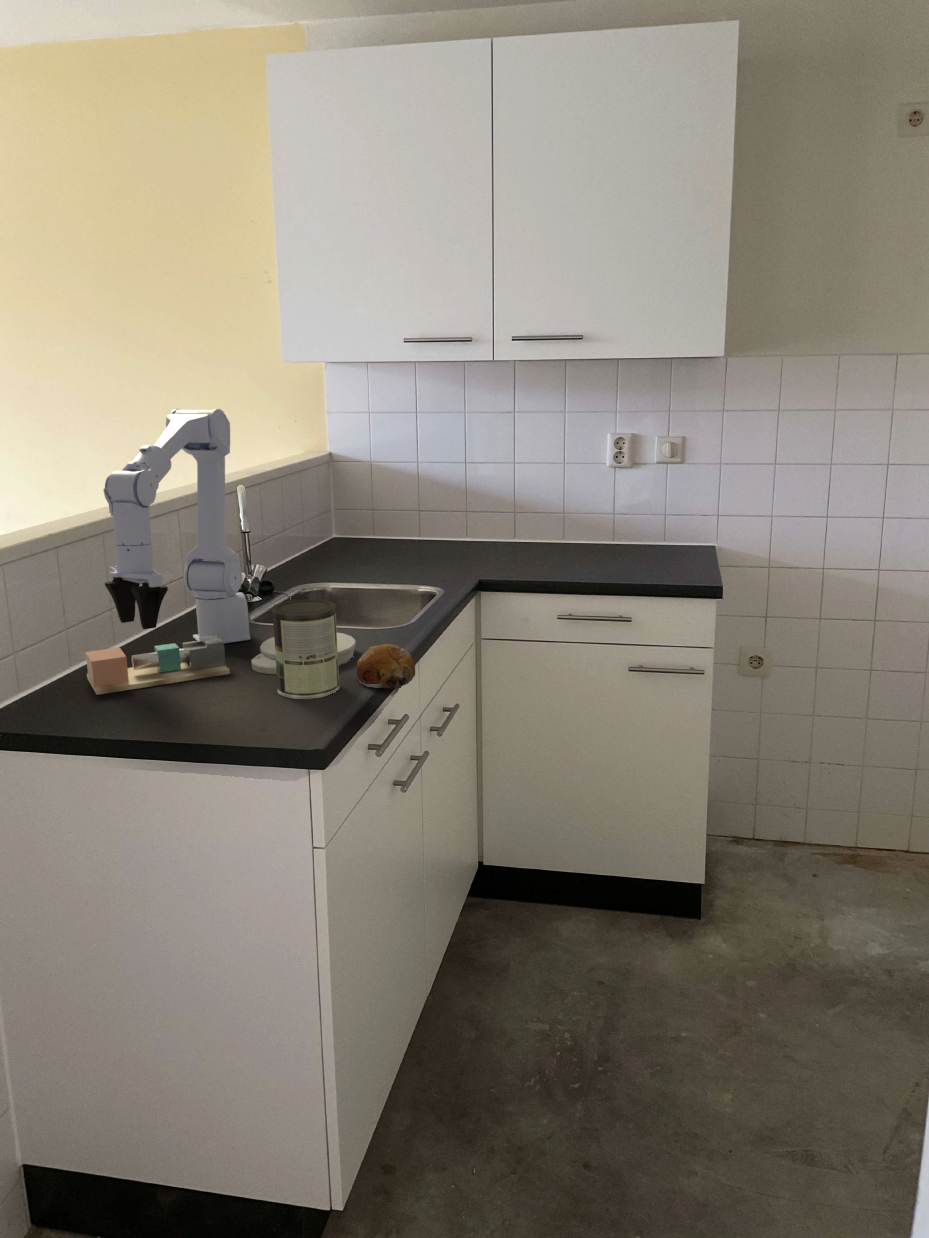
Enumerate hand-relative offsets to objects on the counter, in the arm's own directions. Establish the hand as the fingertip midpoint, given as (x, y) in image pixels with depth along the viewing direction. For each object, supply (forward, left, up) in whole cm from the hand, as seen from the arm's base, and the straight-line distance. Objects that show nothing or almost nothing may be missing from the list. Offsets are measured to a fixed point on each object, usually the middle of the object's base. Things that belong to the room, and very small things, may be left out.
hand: (138, 625), depth 165 cm
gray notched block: (-11, -1, -10) cm, 15 cm away
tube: (-6, -1, -9) cm, 11 cm away
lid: (-28, +2, -10) cm, 30 cm away
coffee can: (-23, +19, -10) cm, 31 cm away
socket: (+5, -1, -10) cm, 11 cm away
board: (-3, -1, -10) cm, 10 cm away
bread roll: (-36, +21, -10) cm, 43 cm away
